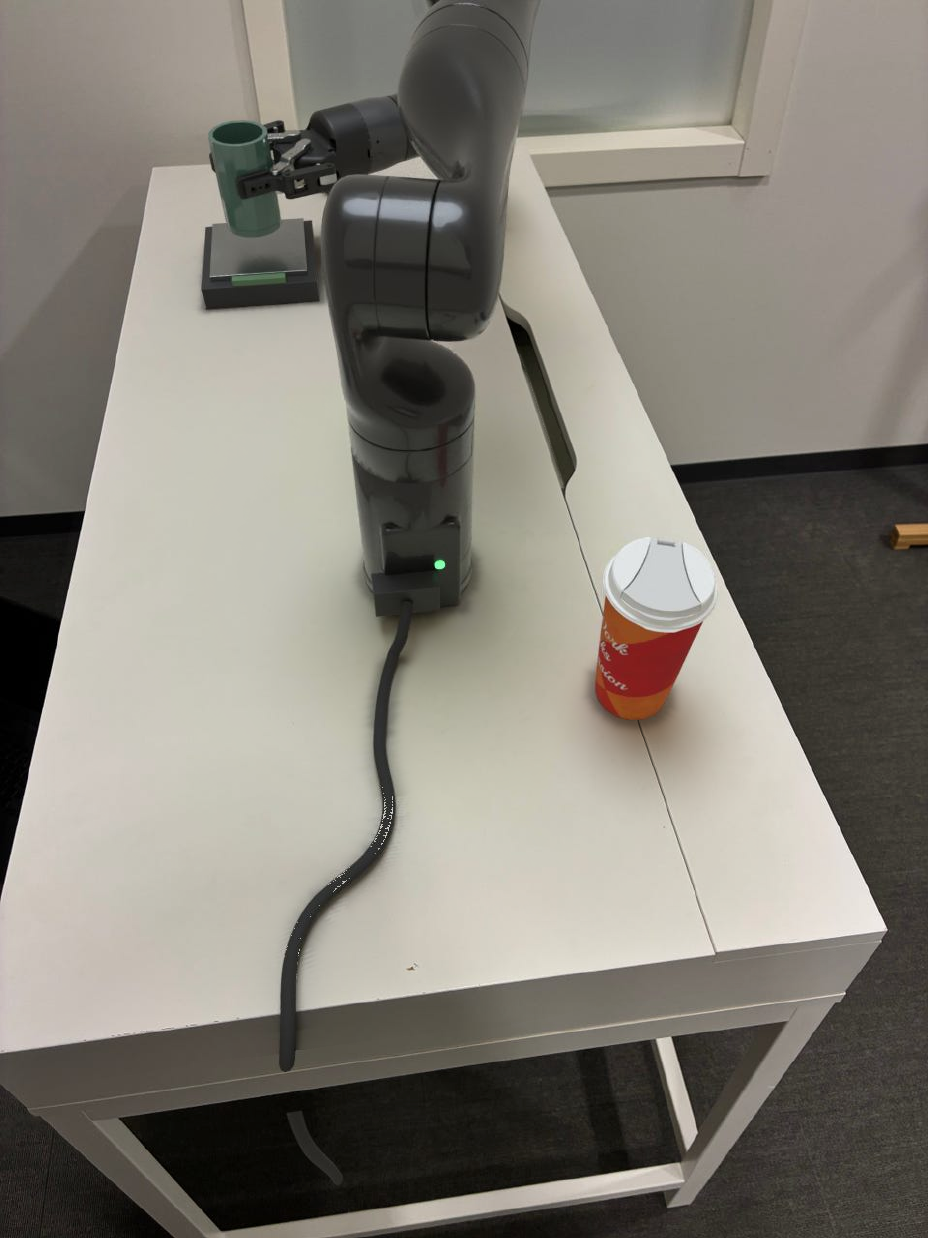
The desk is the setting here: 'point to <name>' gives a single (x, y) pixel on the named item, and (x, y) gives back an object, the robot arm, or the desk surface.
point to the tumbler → (237, 155)
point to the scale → (260, 266)
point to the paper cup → (650, 622)
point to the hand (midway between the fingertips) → (224, 176)
